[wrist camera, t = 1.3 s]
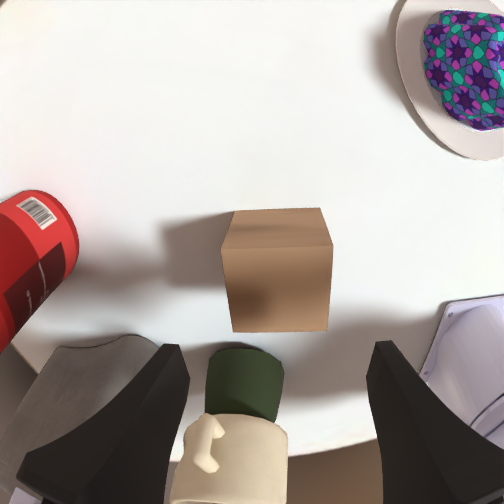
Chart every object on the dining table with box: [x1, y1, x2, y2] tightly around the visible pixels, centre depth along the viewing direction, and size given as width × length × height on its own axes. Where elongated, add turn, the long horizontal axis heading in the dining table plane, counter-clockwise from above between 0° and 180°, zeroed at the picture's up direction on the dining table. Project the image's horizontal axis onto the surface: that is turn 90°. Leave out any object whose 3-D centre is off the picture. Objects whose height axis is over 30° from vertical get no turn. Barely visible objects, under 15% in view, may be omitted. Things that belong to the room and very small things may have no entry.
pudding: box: [395, 0, 504, 161], centre depth 10 cm, size 12×12×5 cm
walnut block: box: [221, 208, 333, 333], centre depth 17 cm, size 5×5×5 cm
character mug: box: [169, 348, 288, 504], centre depth 19 cm, size 11×7×13 cm, turn 15°
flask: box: [0, 335, 159, 502], centre depth 17 cm, size 15×6×20 cm, turn 111°
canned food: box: [0, 190, 79, 354], centre depth 15 cm, size 8×8×11 cm
